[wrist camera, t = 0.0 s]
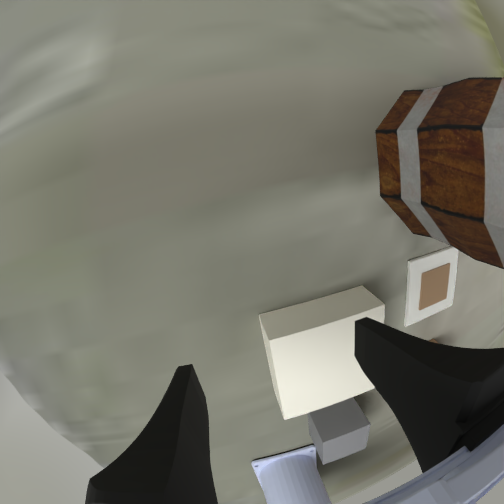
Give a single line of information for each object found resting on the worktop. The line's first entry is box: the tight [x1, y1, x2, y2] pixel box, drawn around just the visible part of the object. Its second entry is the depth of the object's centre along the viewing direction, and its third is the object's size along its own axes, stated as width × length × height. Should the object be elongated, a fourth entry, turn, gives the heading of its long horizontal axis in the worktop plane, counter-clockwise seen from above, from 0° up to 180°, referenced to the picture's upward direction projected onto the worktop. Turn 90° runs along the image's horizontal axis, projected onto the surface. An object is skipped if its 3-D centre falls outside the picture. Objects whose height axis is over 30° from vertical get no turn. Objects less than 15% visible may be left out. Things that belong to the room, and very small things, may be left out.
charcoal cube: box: [308, 397, 371, 465], centre depth 26 cm, size 5×5×5 cm
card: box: [404, 246, 459, 327], centre depth 25 cm, size 7×7×1 cm
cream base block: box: [259, 285, 385, 420], centre depth 23 cm, size 9×9×4 cm
